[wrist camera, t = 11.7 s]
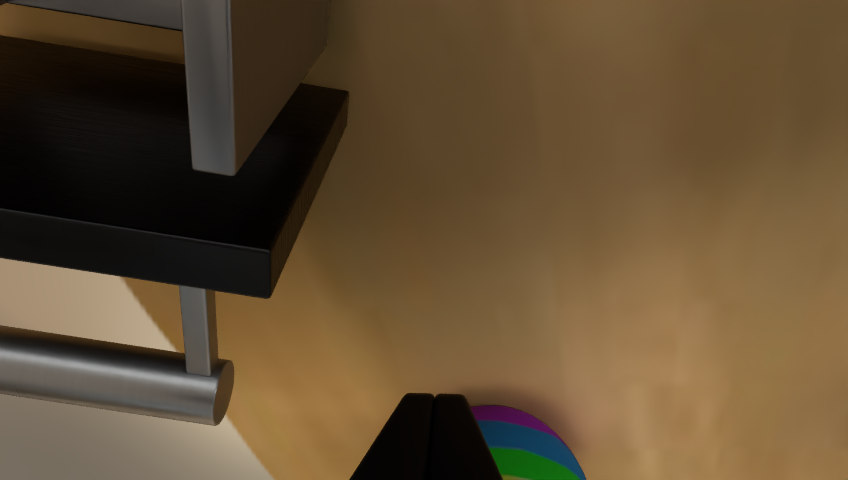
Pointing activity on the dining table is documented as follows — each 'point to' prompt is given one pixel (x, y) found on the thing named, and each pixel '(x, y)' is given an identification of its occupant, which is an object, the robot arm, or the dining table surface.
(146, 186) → the drawer with bar handle
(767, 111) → the dining table surface
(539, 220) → the dining table surface
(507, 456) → the decorative egg
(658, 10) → the dining table surface
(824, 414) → the dining table surface
